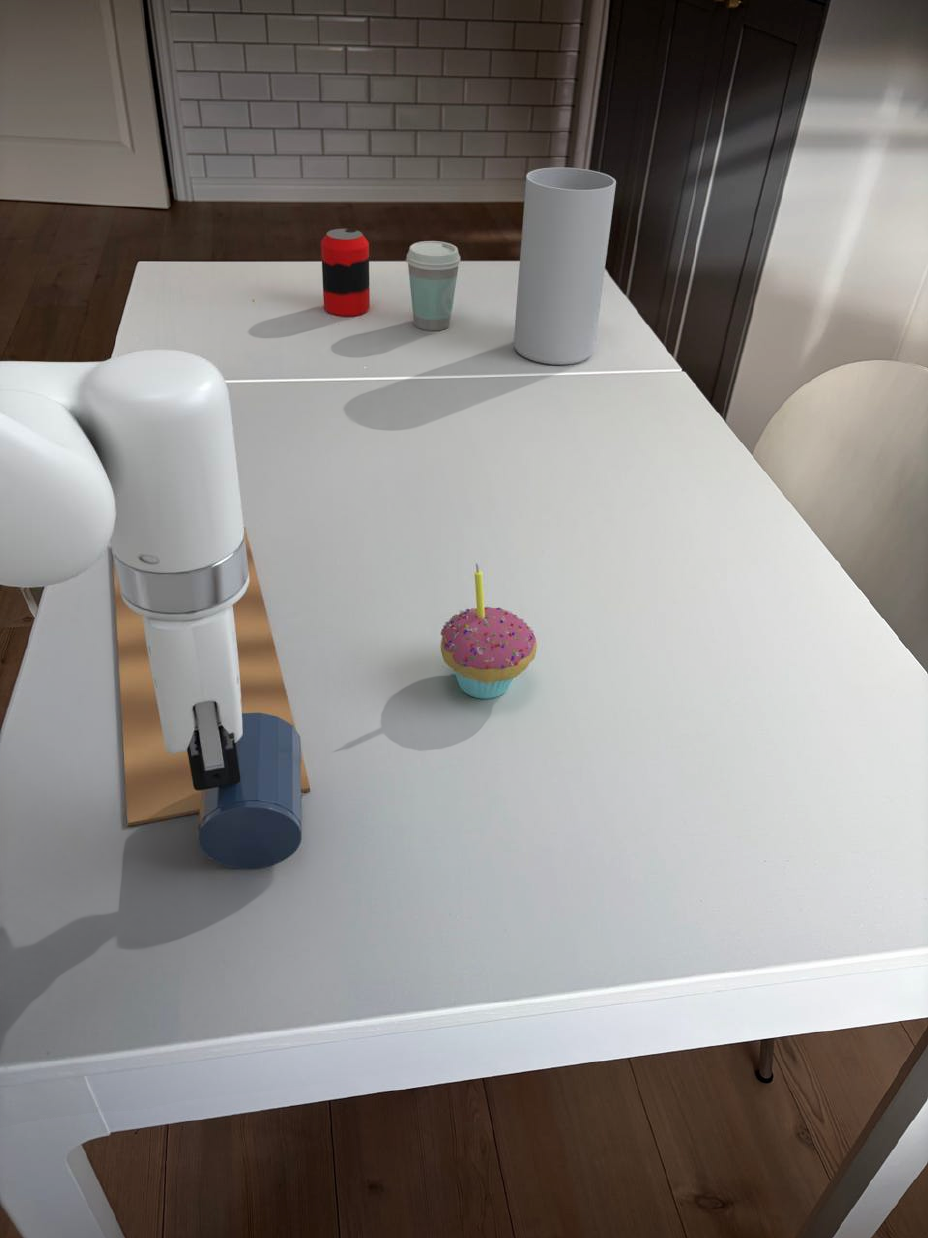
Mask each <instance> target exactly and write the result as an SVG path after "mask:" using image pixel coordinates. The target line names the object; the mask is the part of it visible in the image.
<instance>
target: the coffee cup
mask: <svg viewBox="0 0 928 1238" xmlns="http://www.w3.org/2000/svg"><path fill="white" fill-rule="evenodd" d="M405 262H406V263H407V268H408V280H409V288H410V299H411V309H412V317H413V324H414V326H415V327H416V328H418V329H421V330H424V331H431V332H432V331H436V332H437V331H442V330H446V329H448V328H449V327H450V325H451V320H452V313H453V306H454V300H455V294H456V293H455V291H456V287H457V281H458V280H457V279H458V272H459V266H460V265H461V264H462V261H461V255H460V253H459V248H458V247H457V246H456V245H454V244H452V243H449V242H445V241H438V240H424V241H418V242H414V243H412V244H411V245H410V246H409V249H408V252H407V253H406V259H405Z"/></svg>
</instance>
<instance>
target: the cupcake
mask: <svg viewBox="0 0 928 1238" xmlns="http://www.w3.org/2000/svg"><path fill="white" fill-rule="evenodd" d="M475 568H476V571H474V584H475V585H474V586H475V600H476V608H474V607H473V608H470V609H469V608H466V609H465V610H459V614H457V613H455V614H454V615H453V616H451V618H449V620H448V621H445V622H444V625H442V626H443V628H441V629H440V630H441V631H440V635H441V640H440V653H441V657H442V660H443V661H444V663H445V664H447V666H448V667H450V669H452V670H453V672H454V675H455V678H456V681H457V684H458V686H459V688H460V689H461V691H463V692H464V693H465V694H467V695H468V696H470V697H473V698H476V699H482V700H483V699H495V698H498V697H500V696H502V695H504V694H505V693H506V692H507V691H508V690H509V688H510V686H511V684H512V682H513V680H514V678H517V677H518V676H519V675H521V674H522V673H523V672H524V671H525V670H526V669H527V668H528V667H529V665H530V664H531V662H532V661H534V659H535V658H536V653H537V646H538V645H537V643H538V642H537V638H536V635H535V634H534V630H533V629H532V627H531V626H528V625H527V622H526V621H525V622H524V618H519V617H518V616H517V614H514V613H513V612H512V611H511V610H507V609H506V610H505V609H503V608H502V607H490V606H485V598H484V597H485V595H484V579H483V578H484V577H483V572H482V571H481V570H480V567H479V563H478V562H475Z"/></svg>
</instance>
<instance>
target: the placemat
mask: <svg viewBox="0 0 928 1238" xmlns="http://www.w3.org/2000/svg"><path fill="white" fill-rule="evenodd" d="M244 534H245V543H246V552H247V561H248V570H249V585H248V588H247V590H246V592H245V594H244V595H243V596H242V597H241V598H240V599H239V600H238V601H237V602H236V603H235V604H233V605H232V606H233V614H234V623H235V632H236V642H237V651H238V662H239V674H240V689H241V707H242V713H265V714H269V715H273V716H278V717H280V718H281V719H283V720H285V721H286V722H288V723H290V724H291V725H292V726H293V727H294V728H295V730H296V731H297V729H296V726H295V721H294V716H293V713H292V710H291V705H290V701H289V697H288V693H287V689H286V686H285V685H286V684H285V682H284V681H285V680H284V677H283V673H282V669H281V665H280V662H279V656H278V654H277V649H276V645H275V641H274V637H273V633H272V629H271V625H270V621H269V617H268V613H267V609H266V605H265V601H264V597H263V593H262V590H261V589H262V588H261V585H260V582H259V577H258V573H257V569H256V564H255V561H254V556H253V552H252V549H251V545H250V541H249V537H248V532H247V529H246V527H245V526H244ZM112 570H113V586H114V604H115V605H114V606H115V619H116V620H115V621H116V622H115V624H116V625H115V626H116V640H117V642H116V643H117V659H118V677H119V696H120V713H121V730H122V731H121V734H122V748H123V749H122V750H123V768H124V786H125V804H126V807H125V808H126V822H127V823H126V824H127V826H128V827H133V826H138V825H142V824H147V823H153V822H157V821H162V820H163V821H164V820H168V819H174V818H179V817H183V816H188V815H195V814H199V813H200V802H201V790H200V791H198V790H195V789H194V786H193V781H192V775H191V769H190V764H189V758H188V753H187V750H186V752H181V753H176V754H172V753H170V752H168V751H167V750H166V749H165V745H164V739H163V733H162V727H161V721H160V715H159V710H158V704H157V699H156V693H155V688H154V683H153V677H152V672H151V667H150V661H149V656H148V650H147V644H146V638H145V631H144V624H143V616H142V615H140V614H137V613H136V612H134V611H133V610H131V609H130V608H129V607H128V606H127V605H126V604H125V603H124V601H123V599H122V596H121V592H120V587H119V583H118V578H117V573H116V568H115V563H114V559H113V558H112ZM310 785H311V784H310V781H309V778H308V773H307V769H306V765H305V762H304V756H303V754H302V752H301V794H303V793H307V792H311V786H310Z"/></svg>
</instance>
